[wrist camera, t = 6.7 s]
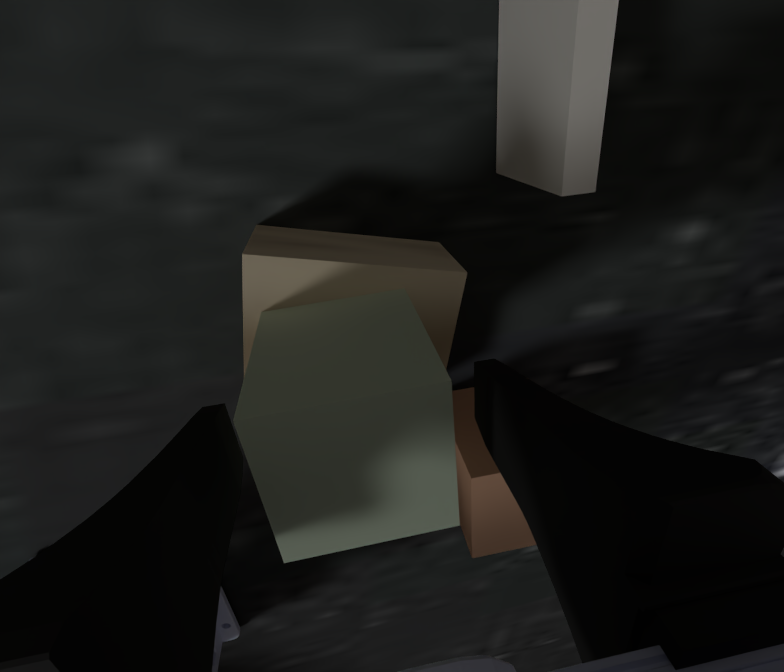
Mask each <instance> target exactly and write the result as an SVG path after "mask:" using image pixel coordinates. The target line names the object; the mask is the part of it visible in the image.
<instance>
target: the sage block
mask: <svg viewBox="0 0 784 672" xmlns="http://www.w3.org/2000/svg"><path fill="white" fill-rule="evenodd" d="M233 422H234V425H235V428H236V431H237V433H238V436H239V439H240V442H241V445H242V447H243V450H244V453H245V456H246V458H247V461H248V464H249V467H250V470H251V472H252V475H253V478H254V481H255V483H256V486H257V489H258V492H259V495H260V497H261V500H262V503H263V506H264V509H265V511H266V514H267V517H268V520H269V522H270V525H271V528H272V531H273V534H274V536H275V539H276V542H277V545H278V547H279V550H280V553H281V556H282V559H283V561H284V563H287V562H292V561H297V560H301V559H306V558H311V557H315V556H320V555H325V554H329V553H334V552H339V551H343V550H348V549H352V548H357V547H362V546H366V545H371V544H376V543H380V542H385V541H390V540H394V539H399V538H404V537H408V536H413V535H417V534H422V533H427V532H431V531H436V530H441V529H445V528H450V527H455V526H459V525H460V521H459V503H458V485H457V468H456V450H455V433H454V415H453V398H452V381H451V379H450V377H449V375H448V373H447V371H446V369H445V367H444V365H443V363H442V361H441V359H440V357H439V355H438V353H437V351H436V349H435V347H434V345H433V343H432V341H431V339H430V337H429V335H428V333H427V331H426V329H425V327H424V325H423V323H422V321H421V319H420V317H419V315H418V314H417V312H416V310H415V308H414V306H413V304H412V302H411V300H410V298H409V296H408V294H407V292H406V290H405V288H403V289H397V290H391V291H385V292H379V293H373V294H366V295H360V296H354V297H348V298H342V299H336V300H330V301H324V302H318V303H312V304H306V305H300V306H294V307H288V308H282V309H276V310H270V311H264V312H261V315H260V319H259V322H258V326H257V330H256V334H255V338H254V342H253V346H252V350H251V354H250V357H249V361H248V365H247V369H246V373H245V377H244V381H243V385H242V388H241V392H240V396H239V400H238V404H237V408H236V412H235V416H234V420H233Z"/></svg>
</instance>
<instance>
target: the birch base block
mask: <svg viewBox="0 0 784 672" xmlns="http://www.w3.org/2000/svg"><path fill="white" fill-rule="evenodd" d="M242 277H243V340H244V377H245V373H246V369H247V365H248V361H249V357H250V354H251V350H252V346H253V342H254V338H255V334H256V330H257V326H258V322H259V319H260V315H261V312H264V311H270V310H276V309H282V308H288V307H294V306H300V305H306V304H312V303H318V302H324V301H330V300H336V299H342V298H348V297H354V296H360V295H366V294H373V293H379V292H385V291H391V290H397V289H403V288H405V290H406V292H407V294H408V296H409V298H410V300H411V302H412V304H413V306H414V308H415V310H416V312H417V314H418V315H419V317H420V319H421V321H422V323H423V325H424V327H425V329H426V331H427V333H428V335H429V337H430V339H431V341H432V343H433V345H434V347H435V349H436V351H437V353H438V355H439V357H440V359H441V361H442V363H443V365H444V367H445V369H446V368H447V364H448V359H449V355H450V350H451V345H452V341H453V336H454V332H455V327H456V323H457V318H458V314H459V309H460V304H461V300H462V295H463V291H464V286H465V282H466V277H467V272H466V270H465V269H464V268H463V267H462V266H461V265H460V264H459V263H458V262H457V261H456V260H455V259H454V258H453V257H452V256H451V254H450V253H449V252H448V251H447V250H446V249H445V248H444V247H443V246H442V245H441V244H440V243H439V242H432V241H421V240H411V239H400V238H390V237H379V236H369V235H358V234H348V233H337V232H327V231H316V230H306V229H295V228H285V227H274V226H264V225H256V227H255V229H254V231H253V233H252V235H251V237H250V239H249V241H248V243H247V245H246V247H245V249H244V251H243V253H242Z"/></svg>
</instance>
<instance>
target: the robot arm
mask: <svg viewBox="0 0 784 672" xmlns="http://www.w3.org/2000/svg"><path fill="white" fill-rule="evenodd" d="M474 417H475V420H476V422H477V425H478V428H479V430H480V433H481V436H482V438H483V441H484V443H485V446H486V447H487V449H488V451H489V453H490V455H491V457H492V459H493V460H494V462H495V464H496V466H497V468H498V470H499V471H500V473H501V475H502V477H503V478H504V480H505V482H506V484H507V486H508V487H509V489H510V491H511V493H512V495H513V496H514V498H515V500H516V502H517V504H518V505H519V507H520V509H521V511H522V513H523V515H524V517H525V519H526V521H527V523H528V526H529V528H530V530H531V533H532V535H533V537H534V540H535V542H536V544H537V547H538V549H539V551H540V554H541V556H542V558H543V561H544V563H545V566H546V568H547V571H548V573H549V576H550V578H551V581H552V583H553V586H554V588H555V591H556V593H557V596H558V598H559V601H560V604H561V606H562V609H563V612H564V614H565V617H566V619H567V622H568V625H569V627H570V630H571V633H572V635H573V638H574V641H575V644H576V647H577V649H578V652H579V655H580V658H581V661H582V664H578V665H573V666H569V667H565V668H561V669H557V670H553V671H548V672H784V557H783V556H782V555H781V552H782V550H783V548H784V483H783V482H782V481H781V480H780V479H778V478H777V477H776V476H775V475H773V474H772V473H771V472H770V471H768V470H767V469H766V468H765V467H763V466H762V465H761V464H760V463H758V462H757V461H756V460H754V459H749V458H744V457H739V456H734V455H729V454H724V453H719V452H714V451H709V450H704V449H700V448H696V447H692V446H688V445H684V444H680V443H677V442H673V441H669V440H666V439H662V438H659V437H655V436H652V435H649V434H646V433H643V432H640V431H637V430H634V429H631V428H628V427H625V426H623V425H620V424H617V423H615V422H612V421H610V420H607V419H605V418H603V417H600V416H598V415H596V414H593V413H591V412H589V411H586V410H584V409H582V408H580V407H578V406H576V405H574V404H572V403H570V402H568V401H566V400H564V399H562V398H560V397H558V396H557V395H555V394H553V393H551V392H549V391H548V390H546V389H544V388H542V387H541V386H539V385H537V384H535V383H534V382H532V381H530V380H529V379H527V378H526V377H524V376H522V375H521V374H519V373H517V372H516V371H514V370H513V369H511V368H509V367H508V366H506V365H504V364H503V363H501V362H499V361H498V360H496V359H489V360H483V361H477V362H474ZM242 470H243V456H242V453H241V450H240V447H239V444H238V441H237V438H236V435H235V433H234V430H233V427H232V424H231V421H230V418H229V415H228V412H227V409H226V406H225V404H219V405H213V406H207V407H202V408H201V409H200V410H199V411H198V412H197V413H196V414H195V415H194V416H193V417H192V418H191V419H190V421H189V422H188V423H187V424H186V425H185V426H184V427H183V428H182V429H181V430H180V431H179V433H178V434H177V435H176V436H175V437H174V438H173V439H172V440H171V441H170V442H169V443H168V444H167V445H166V447H165V448H164V449H163V450H162V451H161V452H160V453H159V454H158V455H157V456H156V457H155V458H154V459H153V460H152V461H151V462H150V463H149V464H148V465H147V466H146V467H145V468H144V469H143V470H142V471H141V472H140V473H139V474H138V475H137V476H136V477H135V478H134V479H133V480H132V481H131V482H130V483H129V484H127V485H126V486H125V487H124V488H123V489H122V490H121V491H120V492H119V493H118V494H116V495H115V496H114V497H113V498H112V499H111V500H109V501H108V502H107V503H106V504H105V505H103V506H102V507H101V508H100V509H99V510H97V511H96V512H95V513H94V514H93V515H91V516H90V517H89V518H88V519H86V520H85V521H84V522H82V523H81V524H80V525H78V526H77V527H76V528H74V529H73V530H72V531H70V532H69V533H68V534H66V535H65V536H64V537H62V538H61V539H59V540H58V541H57V542H55V543H54V544H53V545H51V546H50V547H49V548H47V549H46V550H44V551H43V552H41V553H40V554H39V555H37V556H36V557H32V558H31V559H29V560H28V562H27V563H25V564H24V565H22V566H21V567H19V568H18V569H16V570H14V571H13V572H11V573H10V574H8V575H7V576H5V577H3V578H2V579H0V672H218V666H219V660H220V654H221V648H222V643H223V642H225V641H229V640H233V639H236V638H237V637H239V635H240V626H239V624H238V622H237V620H236V617H235V615H234V613H233V611H232V609H231V606H230V604H229V602H228V600H227V598H226V595H225V593H224V591H223V589H222V587H221V581H222V576H223V570H224V565H225V561H226V556H227V552H228V547H229V543H230V538H231V534H232V529H233V525H234V521H235V516H236V511H237V507H238V502H239V497H240V492H241V483H242ZM397 672H516V670H515V668H514V666H513V665H512V664H510V663H508V662H506V661H503V660H500V659H497V658H494V657H491V656H488V655H478V656H466V657H457V658H453V659H448V660H444V661H440V662H435V663H431V664H427V665H422V666H418V667H414V668H409V669H405V670H401V671H397Z"/></svg>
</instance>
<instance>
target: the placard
mask: <svg viewBox="0 0 784 672" xmlns="http://www.w3.org/2000/svg"><path fill="white" fill-rule="evenodd" d="M618 3H619V0H499V36H498V90H497V145H496V173H498V174H500V175H503V176H506V177H509V178H512V179H514V180H517V181H520V182H523V183H525V184H528V185H531V186H534V187H537V188H539V189H542V190H545V191H548V192H550V193H553V194H556V195H559V196H569V195H576V194H584V193H592V192H595V191H596V182H597V174H598V166H599V158H600V150H601V142H602V133H603V125H604V117H605V109H606V101H607V93H608V84H609V76H610V68H611V60H612V52H613V43H614V35H615V27H616V19H617V11H618Z"/></svg>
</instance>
